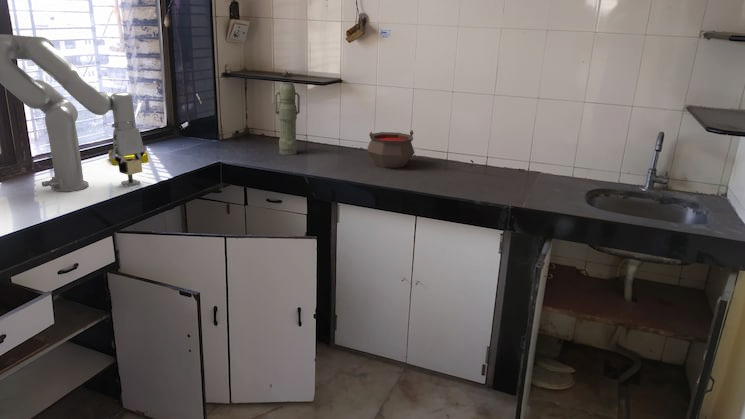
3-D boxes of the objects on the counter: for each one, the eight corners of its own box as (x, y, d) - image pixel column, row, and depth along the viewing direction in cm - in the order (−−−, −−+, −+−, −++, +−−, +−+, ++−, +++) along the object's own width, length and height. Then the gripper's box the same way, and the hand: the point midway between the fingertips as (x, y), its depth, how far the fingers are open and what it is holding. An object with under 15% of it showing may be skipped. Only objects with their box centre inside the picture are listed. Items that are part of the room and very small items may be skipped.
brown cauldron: (401, 157, 284) (403, 125, 279) (423, 168, 264) (426, 134, 258) (357, 160, 275) (358, 127, 270) (376, 172, 255) (378, 136, 249)
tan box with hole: (128, 174, 218) (127, 162, 216) (119, 172, 221) (118, 160, 219) (142, 171, 222) (140, 159, 221) (133, 169, 225) (131, 157, 224)
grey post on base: (129, 186, 220) (127, 170, 217) (121, 183, 222) (119, 168, 220) (140, 183, 224) (138, 167, 221) (132, 181, 226) (131, 165, 224)
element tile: (142, 156, 268) (141, 146, 266) (149, 163, 256) (148, 153, 254) (108, 159, 260) (107, 149, 259) (113, 166, 248) (112, 156, 247)
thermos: (301, 154, 281) (301, 83, 270) (277, 155, 278) (276, 83, 267) (298, 151, 289) (298, 81, 278) (275, 151, 286) (274, 81, 275)
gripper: (110, 129, 207) (116, 176, 213) (150, 123, 220) (155, 167, 226) (98, 127, 211) (104, 173, 216) (139, 121, 224) (144, 164, 230)
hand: (130, 170), depth 221 cm, fingers closed on tan box with hole, 6 cm apart
